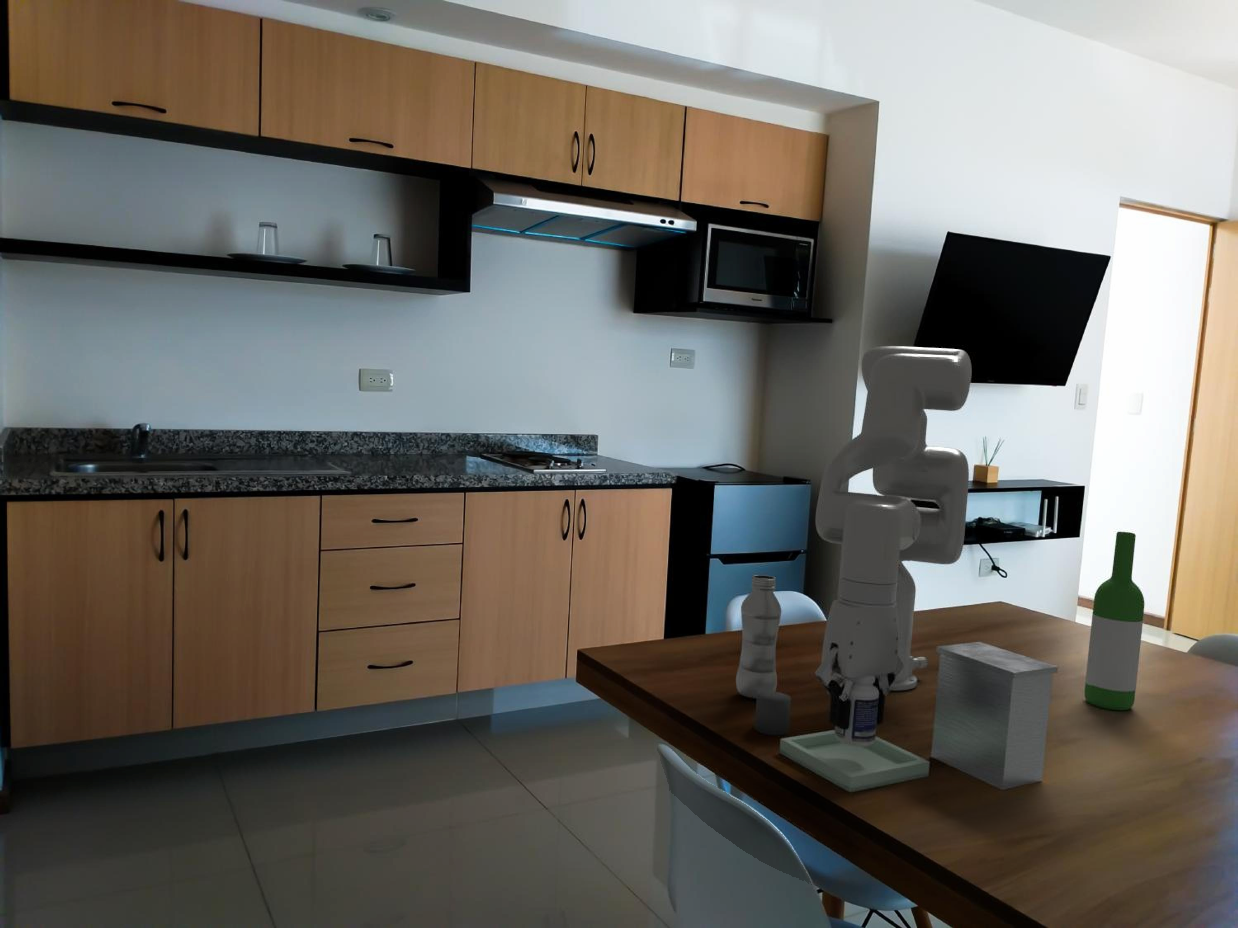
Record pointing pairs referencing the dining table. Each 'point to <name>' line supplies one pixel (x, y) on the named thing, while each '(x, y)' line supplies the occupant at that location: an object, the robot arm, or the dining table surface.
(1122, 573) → the wine bottle
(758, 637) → the plastic bottle
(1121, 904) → the dining table surface
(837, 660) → the robot arm
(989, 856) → the dining table surface
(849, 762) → the tray
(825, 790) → the dining table surface
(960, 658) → the metal box
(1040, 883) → the dining table surface
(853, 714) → the pill bottle
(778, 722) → the stopper
